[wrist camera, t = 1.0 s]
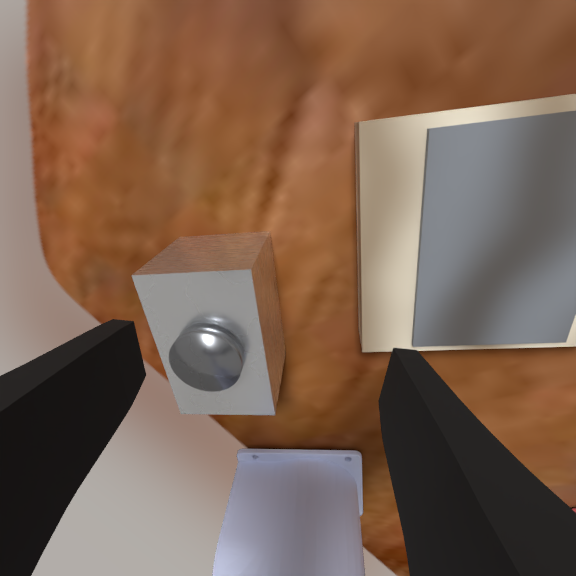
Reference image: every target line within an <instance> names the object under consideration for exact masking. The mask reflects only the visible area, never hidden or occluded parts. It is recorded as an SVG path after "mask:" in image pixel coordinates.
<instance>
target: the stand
mask: <svg viewBox="0 0 576 576" xmlns="http://www.w3.org/2000/svg"><path fill="white" fill-rule="evenodd" d="M355 159H356V211H357V263H358V314H359V335H360V341H361V347H362V352H390V351H392V350H393V348H402V349H412V350H417V351H427V350H464V349H501V348H537V347H574V346H576V94H570V95H563V96H555V97H547V98H540V99H532V100H524V101H516V102H509V103H501V104H493V105H486V106H478V107H470V108H462V109H455V110H447V111H439V112H432V113H424V114H416V115H408V116H401V117H393V118H385V119H378V120H370V121H362V122H355Z"/></svg>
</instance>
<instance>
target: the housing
mask: <svg viewBox="0 0 576 576" xmlns="http://www.w3.org/2000/svg"><path fill="white" fill-rule="evenodd" d="M132 278H133V281H134V284H135V287H136V289H137V292H138V295H139V298H140V301H141V303H142V306H143V309H144V312H145V315H146V317H147V320H148V323H149V326H150V329H151V331H152V334H153V337H154V340H155V343H156V345H157V348H158V351H159V354H160V357H161V359H162V362H163V365H164V368H165V371H166V373H167V376H168V379H169V382H170V385H171V387H172V390H173V393H174V396H175V399H176V401H177V404H178V407H179V410H180V413H181V414H222V415H275V413H276V408H277V402H278V396H279V390H280V384H281V378H282V372H283V366H284V360H285V354H286V351H285V343H284V336H283V328H282V320H281V312H280V305H279V297H278V289H277V281H276V274H275V266H274V258H273V250H272V243H271V235H270V231H265V232H250V233H235V234H220V235H205V236H190V237H179V238H178V239H177V240H175V241H174V242H173V243H172V244H170V245H169V246H168V247H167V248H165V249H164V250H163V251H162V252H160V253H159V254H158V255H157V256H155V257H154V258H153V259H152V260H150V261H149V262H148V263H147V264H145V265H144V266H143V267H141V268H140V269H139V270H138V271H136V272H135V273H134V274H133V275H132Z"/></svg>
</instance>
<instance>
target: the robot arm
mask: <svg viewBox="0 0 576 576" xmlns="http://www.w3.org/2000/svg"><path fill="white" fill-rule="evenodd" d="M145 376H146V372H145V368H144V364H143V359H142V355H141V351H140V346H139V342H138V338H137V334H136V329H135V325H134V321H125V320H115V319H113V320H110V321H108V322H106V323H103V324H101V325H99V326H97V327H95V328H93V329H92V330H89V331H87V332H85V333H83V334H82V335H80V336H78V337H76V338H74V339H72V340H70V341H68V342H66V343H65V344H63V345H61V346H59V347H57V348H55V349H53V350H51V351H49V352H47V353H45V354H43V355H42V356H39V357H37V358H36V359H34V360H32V361H30V362H28V363H26V364H24V365H22V366H20V367H18V368H16V369H14V370H12V371H10V372H8V373H6V374H4V375H1V376H0V576H31V575H32V573H33V571H34V569H35V567H36V565H37V563H38V561H39V559H40V557H41V555H42V553H43V551H44V549H45V547H46V546H47V544H48V542H49V540H50V538H51V536H52V534H53V532H54V531H55V529H56V526H57V525H58V523H59V521H60V519H61V517H62V516H63V514H64V512H65V510H66V508H67V507H68V505H69V503H70V502H71V500H72V498H73V497H74V495H75V493H76V492H77V490H78V488H79V487H80V485H81V484H82V482H83V481H84V479H85V478H86V476H87V474H88V473H89V471H90V470H91V468H92V467H93V465H94V464H95V462H96V461H97V459H98V458H99V456H100V455H101V453H102V451H103V450H104V448H105V447H106V445H107V444H108V442H109V441H110V439H111V438H112V436H113V435H114V433H115V432H116V430H117V428H118V427H119V425H120V424H121V422H122V421H123V419H124V417H125V416H126V414H127V413H128V411H129V409H130V408H131V406H132V404H133V402H134V400H135V398H136V396H137V394H138V392H139V390H140V387H141V385H142V383H143V381H144V379H145ZM379 411H380V422H381V431H382V439H383V444H384V449H385V453H386V458H387V462H388V467H389V472H390V476H391V481H392V485H393V490H394V494H395V499H396V503H397V508H398V512H399V517H400V521H401V526H402V530H403V535H404V541H405V546H406V552H407V558H408V565H409V572H410V576H576V513H575V512H574V511H573V510H572V509H571V508H570V507H569V506H568V505H567V504H565V503H564V502H563V501H562V500H561V499H560V498H559V497H558V496H557V495H555V494H554V493H553V492H552V491H551V490H550V489H549V488H548V487H547V486H545V485H544V484H543V483H542V482H541V481H540V480H539V479H538V478H537V477H536V476H534V475H533V474H532V473H531V472H530V471H529V470H528V469H527V468H526V467H525V466H524V465H523V464H522V463H521V462H520V461H519V460H518V459H517V458H516V457H515V456H514V455H513V454H512V453H511V452H510V451H509V450H508V449H507V448H506V447H505V446H504V445H503V444H502V443H501V442H500V441H499V440H498V439H497V438H496V437H495V436H494V435H493V434H492V433H491V432H490V431H489V430H488V429H487V428H486V427H485V426H484V425H483V424H482V423H481V422H480V421H479V420H478V419H477V418H476V417H475V415H474V414H473V413H472V412H471V411H470V410H469V409H468V408H467V407H466V406H465V405H464V403H463V402H462V401H461V400H460V399H459V398H458V397H457V396H456V395H455V393H454V392H453V391H452V390H451V389H450V388H449V387H448V386H447V384H446V383H445V382H444V381H443V380H442V379H441V377H440V376H439V375H438V374H437V373H436V372H435V371H434V369H433V368H432V367H431V366H430V365H429V364H428V362H427V361H426V360H425V359H424V358H423V357H422V356H421V354H420V353H419V352H418V351H417V350H412V349H402V348H393V350H392V354H391V357H390V361H389V365H388V368H387V372H386V376H385V379H384V383H383V387H382V390H381V394H380V398H379ZM237 458H238V465H237V469H236V473H235V477H234V481H233V485H232V488H231V492H230V497H229V500H228V505H227V508H226V512H225V516H224V520H223V524H222V528H221V532H220V536H219V540H218V544H217V548H216V554H215V560H214V566H213V574H212V576H365V569H364V558H363V546H362V535H361V524H360V516H361V515H362V514H363V491H362V455H361V453H360V452H359V451H355V450H301V449H239V450H238V453H237Z"/></svg>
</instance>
